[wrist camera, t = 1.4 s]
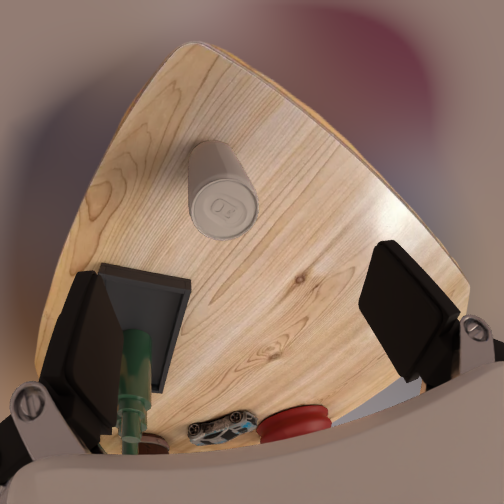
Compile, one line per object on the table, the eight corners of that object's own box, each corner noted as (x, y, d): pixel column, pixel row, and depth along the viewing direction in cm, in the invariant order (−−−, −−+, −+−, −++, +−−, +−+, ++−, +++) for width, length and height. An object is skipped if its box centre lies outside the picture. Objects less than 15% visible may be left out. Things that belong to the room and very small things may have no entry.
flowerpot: (185, 438, 65) (193, 505, 49) (150, 450, 68) (155, 509, 52) (141, 424, 57) (145, 500, 41) (109, 436, 60) (109, 501, 44)
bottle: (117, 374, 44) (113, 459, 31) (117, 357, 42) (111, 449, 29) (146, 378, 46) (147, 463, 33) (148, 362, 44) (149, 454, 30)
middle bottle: (118, 347, 41) (110, 443, 27) (119, 326, 38) (108, 429, 25) (150, 353, 42) (150, 448, 29) (154, 332, 40) (154, 435, 27)
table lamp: (314, 395, 62) (375, 560, 26) (334, 414, 74) (384, 543, 37) (242, 425, 65) (282, 582, 28) (274, 439, 76) (311, 564, 40)
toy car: (259, 416, 63) (264, 433, 59) (200, 434, 65) (202, 450, 61) (246, 407, 59) (251, 426, 55) (183, 426, 60) (185, 444, 56)
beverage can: (217, 190, 31) (233, 253, 21) (179, 168, 29) (174, 222, 19) (244, 154, 29) (275, 201, 20) (206, 129, 27) (216, 162, 17)
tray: (100, 374, 45) (99, 384, 43) (101, 262, 33) (97, 272, 31) (162, 384, 49) (162, 393, 47) (191, 279, 37) (191, 290, 35)
